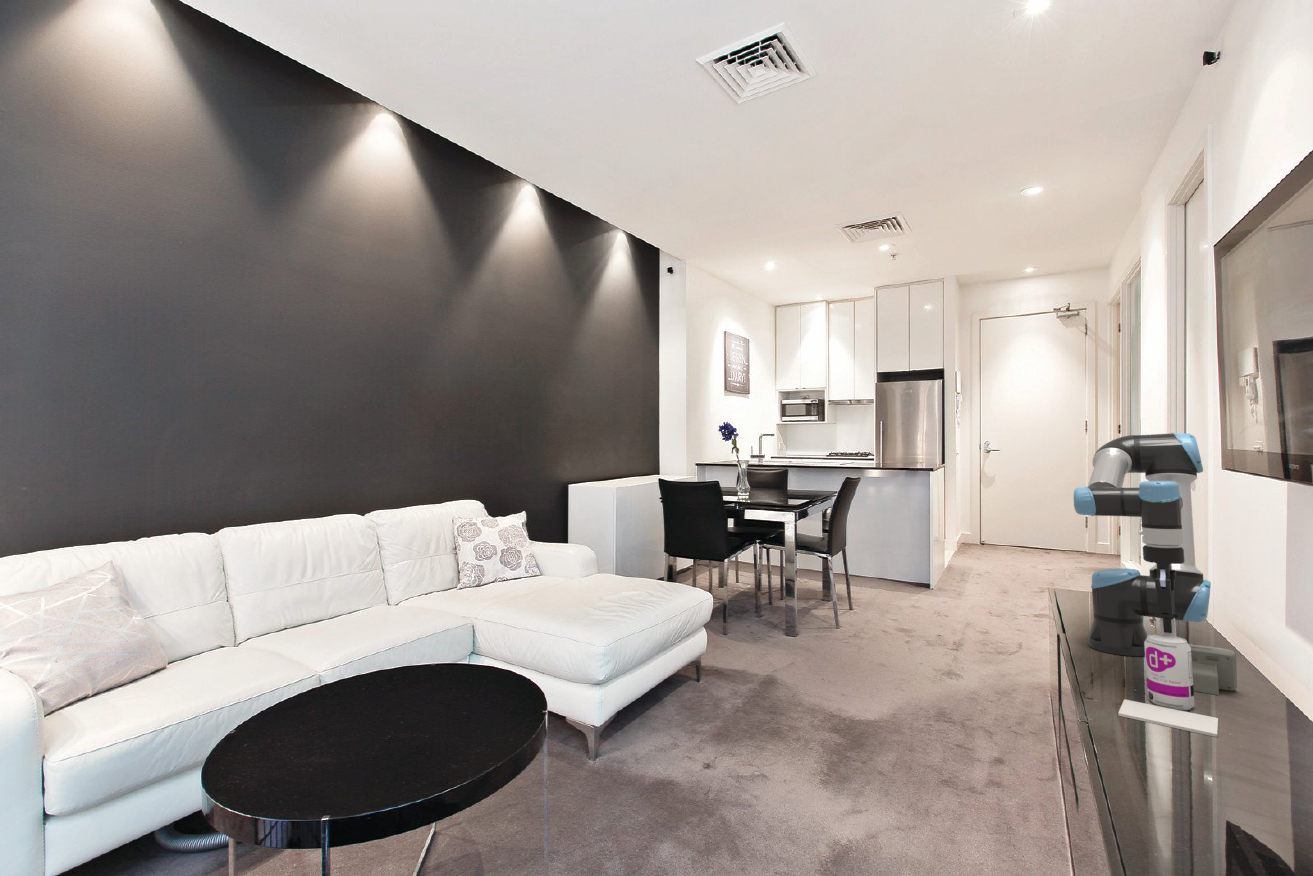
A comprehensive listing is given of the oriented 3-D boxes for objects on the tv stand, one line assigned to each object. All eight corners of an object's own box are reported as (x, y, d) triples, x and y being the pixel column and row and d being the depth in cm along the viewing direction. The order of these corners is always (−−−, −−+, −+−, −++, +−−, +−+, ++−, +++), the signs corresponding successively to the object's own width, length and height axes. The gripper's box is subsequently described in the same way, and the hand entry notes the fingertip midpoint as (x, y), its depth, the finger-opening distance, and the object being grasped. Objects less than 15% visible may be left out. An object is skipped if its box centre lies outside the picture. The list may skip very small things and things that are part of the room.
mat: (1124, 702, 139) (1124, 699, 139) (1218, 721, 128) (1218, 718, 128) (1118, 715, 132) (1118, 713, 132) (1217, 737, 121) (1217, 734, 121)
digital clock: (1241, 691, 144) (1238, 646, 144) (1234, 701, 138) (1231, 655, 138) (1155, 674, 156) (1153, 633, 157) (1146, 682, 151) (1143, 640, 151)
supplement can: (1178, 713, 132) (1173, 645, 133) (1139, 700, 140) (1135, 635, 141) (1204, 708, 134) (1199, 641, 135) (1164, 695, 142) (1160, 632, 143)
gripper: (1145, 541, 150) (1151, 636, 149) (1139, 547, 141) (1145, 649, 139) (1185, 543, 145) (1191, 642, 143) (1181, 550, 135) (1188, 655, 134)
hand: (1169, 645), depth 141 cm, fingers closed
